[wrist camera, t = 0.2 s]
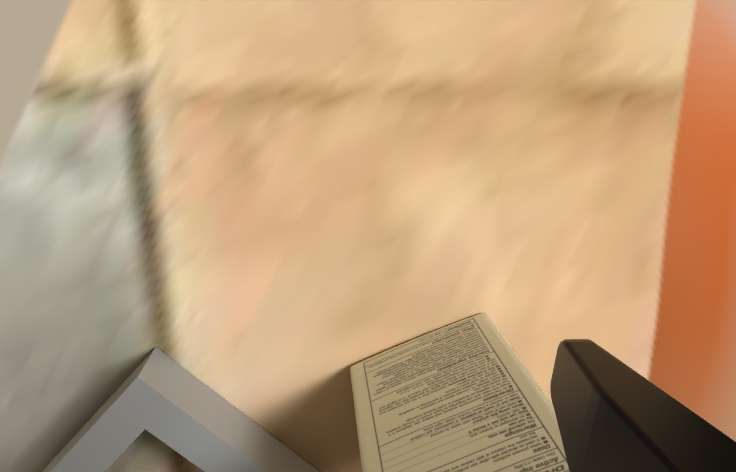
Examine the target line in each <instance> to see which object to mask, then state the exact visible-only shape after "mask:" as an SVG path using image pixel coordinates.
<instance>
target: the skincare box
mask: <svg viewBox="0 0 736 472" xmlns="http://www.w3.org/2000/svg"><path fill="white" fill-rule="evenodd" d="M350 374H351V382H352V391H353V398H354V407H355V416H356V425H357V433H358V441H359V449H360V458H361V466H362V472H569V468H568V464H567V460H566V455H565V451H564V447H563V443H562V439H561V435H560V431H559V427H558V423H557V419H556V415H555V411H554V407H553V405H552V403H551V402H550V400H549V399H548V398H547V396H546V395H545V393H544V392H543V390H542V389H541V387H540V386H539V385H538V383H537V382H536V381H535V379H534V378H533V377H532V375H531V374H530V373H529V371H528V370H527V368H526V367H525V366H524V364H523V363H522V361H521V360H520V359H519V357H518V356H517V355H516V353H515V351H514V350H513V348H512V347H511V346H510V344H509V343H508V342H507V340H506V339H505V338H504V336H503V335H502V334H501V332H500V331H499V329H498V328H497V326H496V325H495V324H494V322H493V321H492V319H491V318H490V317H489V315H488V314H486V313H480V314H477V315H475V316H472V317H469V318H466V319H464V320H461V321H459V322H456V323H453V324H450V325H448V326H445V327H443V328H440V329H438V330H435V331H433V332H430V333H428V334H425V335H423V336H420V337H418V338H415V339H413V340H410V341H408V342H406V343H403V344H401V345H398V346H396V347H394V348H391V349H389V350H387V351H384V352H382V353H380V354H377V355H375V356H373V357H371V358H368V359H366V360H364V361H362V362H359V363H357V364H354V365H353V366H351V368H350Z"/></svg>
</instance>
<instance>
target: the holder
mask: <svg viewBox="0 0 736 472" xmlns="http://www.w3.org/2000/svg"><path fill="white" fill-rule="evenodd" d="M145 429H146V430H147V431H148V432H150V433H151V434H153V435H154V436H155V437H157V438H158V439H159V440H161V441H162V442H164V443H165V444H166V445H168V446H169V447H171V448H172V449H173V450H175V451H176V452H178V453H179V454H180V455H182V456H183V457H184V458H186V459H187V460H189V461H190V462H191V463H193V464H194V465H196V466H197V467H198V468H200V469H201V470H203V471H204V472H320V471H318V470H317V469H316V468H314V467H313V466H312V465H310V464H309V463H308V462H306V461H305V460H304V459H303V458H301V457H300V456H299V455H297V454H296V453H295V452H293V451H292V450H291V449H289V448H288V447H287V446H285V445H284V444H283V443H281V442H280V441H279V440H277V439H276V438H275V437H274V436H272V435H271V434H270V433H268V432H267V431H266V430H264V429H263V428H262V427H260V426H259V425H258V424H256V423H255V422H254V421H252V420H251V419H250V418H248V417H247V416H246V415H245V414H243V413H242V412H241V411H239V410H238V409H237V408H235V407H234V406H233V405H231V404H230V403H229V402H227V401H226V400H225V399H223V398H222V397H221V396H219V395H218V394H217V393H216V392H214V391H213V390H212V389H210V388H209V387H208V386H206V385H205V384H204V383H202V382H201V381H200V380H198V379H197V378H196V377H194V376H193V375H192V374H190V373H189V372H188V371H187V370H185V369H184V368H183V367H181V366H180V365H179V364H177V363H176V362H175V361H173V360H172V359H171V358H169V357H168V356H167V355H165V354H164V353H163V352H161V351H160V350H159V349H158V348H155V349H154V350H153V351H152V352H151V353H150V354H149V355H148V356H147V357H146V358H145V360H144V361H143V362H142V363H141V364H140V365H139V366H138V367H137V368H136V369H135V370H134V371H133V373H132V374H131V375H130V376H129V377H128V378H127V379H126V380H125V381H124V382H123V383H122V385H121V386H120V387H119V388H118V389H117V390H116V391H115V392H114V393H113V394H112V395H111V397H110V398H109V399H108V400H107V401H106V402H105V403H104V404H103V405H102V406H101V407H100V409H99V410H98V411H97V412H96V413H95V414H94V415H93V416H92V417H91V418H90V419H89V421H88V422H87V423H86V424H85V425H84V426H83V427H82V428H81V429H80V430H79V431H78V433H77V434H76V435H75V436H74V437H73V438H72V439H71V440H70V441H69V442H68V443H67V445H66V446H65V447H64V448H63V449H62V450H61V451H60V452H59V453H58V454H57V455H56V456H55V458H54V459H53V460H52V461H51V462H50V463H49V464H48V465H47V466H46V467H45V468H44V470H43V471H42V472H105V471H106V470H107V469H108V468H109V467H110V466H111V465H112V464H113V463H114V462H115V460H116V459H117V458H118V457H119V456H120V455H121V454H122V453H123V452H124V451H125V450H126V449H127V448H128V447H129V446H130V445H131V443H132V442H133V441H134V440H135V439H136V438H137V437H138V436H139V435H140V434H141V433H142V432H143V431H144V430H145Z"/></svg>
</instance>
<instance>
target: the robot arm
mask: <svg viewBox="0 0 736 472" xmlns="http://www.w3.org/2000/svg"><path fill="white" fill-rule="evenodd" d="M551 398H552V403H553V407H554V411H555V415H556V419H557V423H558V427H559V431H560V435H561V439H562V443H563V447H564V451H565V455H566V460H567V464H568V468H569V472H736V442H735V441H734V440H732V439H731V438H729V437H728V436H726V435H725V434H723V433H722V432H721V431H719V430H718V429H716V428H715V427H714V426H712V425H711V424H709V423H708V422H707V421H705V420H704V419H702V418H701V417H700V416H698V415H697V414H695V413H694V412H692V411H691V410H690V409H688V408H687V407H685V406H684V405H682V404H681V403H680V402H678V401H677V400H675V399H674V398H672V397H671V396H670V395H668V394H667V393H665V392H664V391H662V390H661V389H659V388H658V387H657V386H655V385H654V384H653V383H651V382H650V381H648V380H647V379H645V378H644V377H643V376H641V375H640V374H638V373H637V372H636V371H634V370H633V369H631V368H630V367H628V366H627V365H626V364H624V363H623V362H621V361H620V360H618V359H617V358H616V357H614V356H613V355H611V354H610V353H609V352H607V351H606V350H604V349H603V348H601V347H600V346H599V345H597V344H596V343H594V342H593V341H591V340H588V339H565V340H563V341H562V342H560V344H559V346H558V349H557V354H556V359H555V364H554V369H553V374H552V379H551Z"/></svg>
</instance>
